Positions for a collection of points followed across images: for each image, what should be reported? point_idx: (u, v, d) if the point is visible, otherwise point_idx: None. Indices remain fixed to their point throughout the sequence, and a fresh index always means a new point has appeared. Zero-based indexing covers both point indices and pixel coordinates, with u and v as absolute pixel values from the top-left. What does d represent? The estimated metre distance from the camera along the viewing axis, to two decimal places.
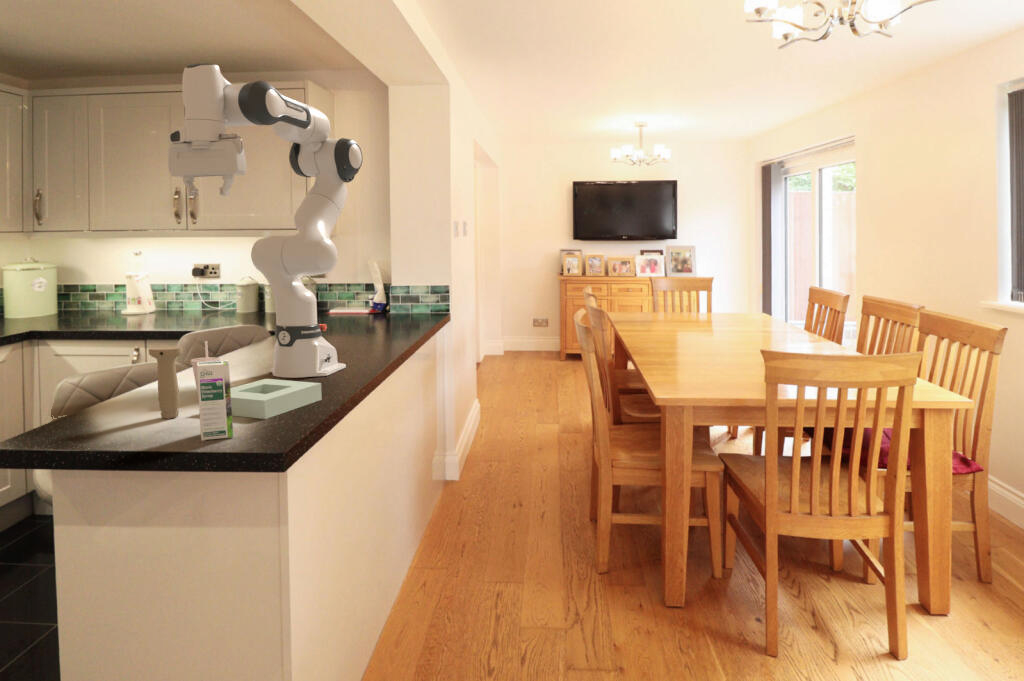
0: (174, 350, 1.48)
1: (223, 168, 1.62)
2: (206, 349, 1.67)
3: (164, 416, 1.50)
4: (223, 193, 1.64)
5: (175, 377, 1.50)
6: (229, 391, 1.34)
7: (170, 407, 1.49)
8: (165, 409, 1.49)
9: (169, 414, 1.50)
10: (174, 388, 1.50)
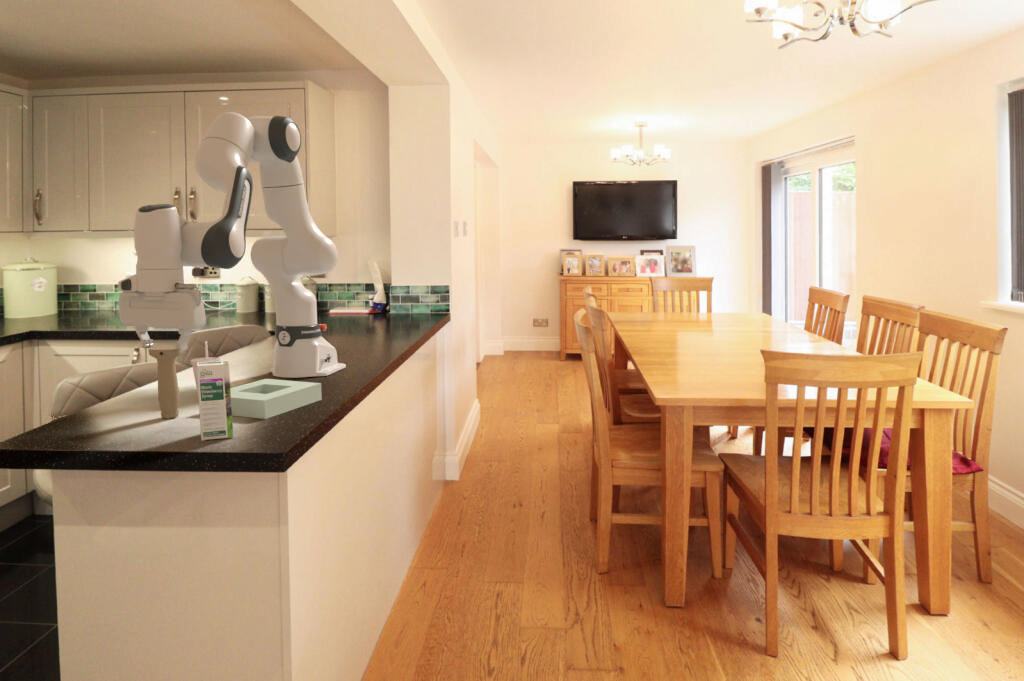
0: (174, 350, 1.48)
1: (179, 322, 1.44)
2: (206, 349, 1.67)
3: (164, 416, 1.50)
4: (179, 348, 1.46)
5: (175, 377, 1.50)
6: (229, 391, 1.34)
7: (170, 407, 1.49)
8: (165, 409, 1.49)
9: (169, 414, 1.50)
10: (174, 388, 1.50)
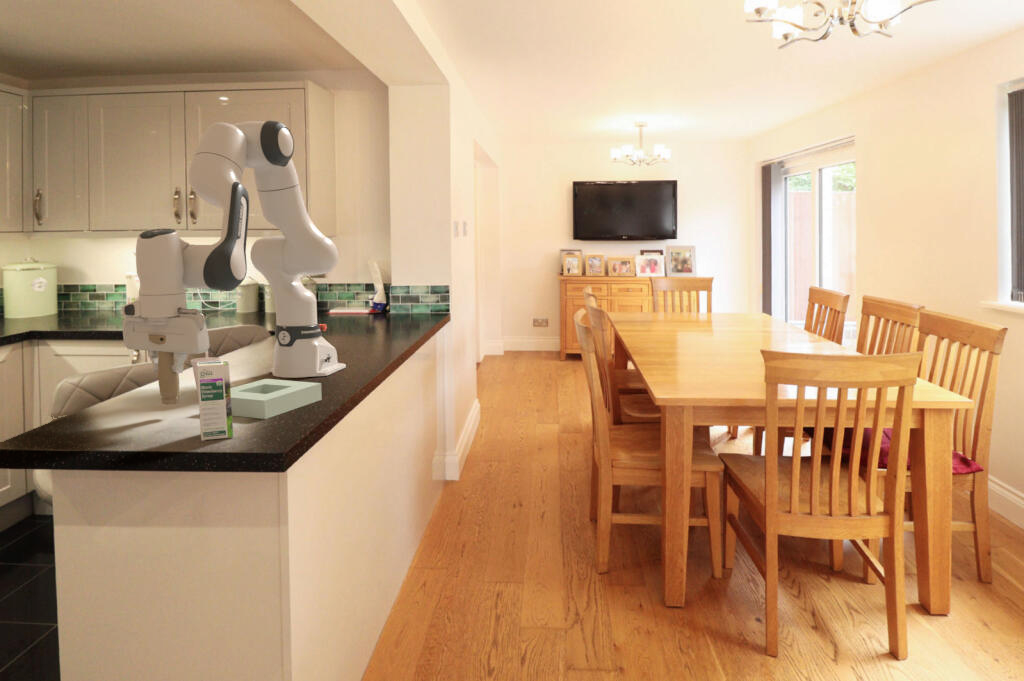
0: None
1: (183, 347, 1.46)
2: None
3: (165, 402, 1.50)
4: (175, 371, 1.49)
5: None
6: (229, 391, 1.34)
7: (171, 393, 1.49)
8: (166, 395, 1.49)
9: (170, 400, 1.50)
10: (175, 373, 1.50)
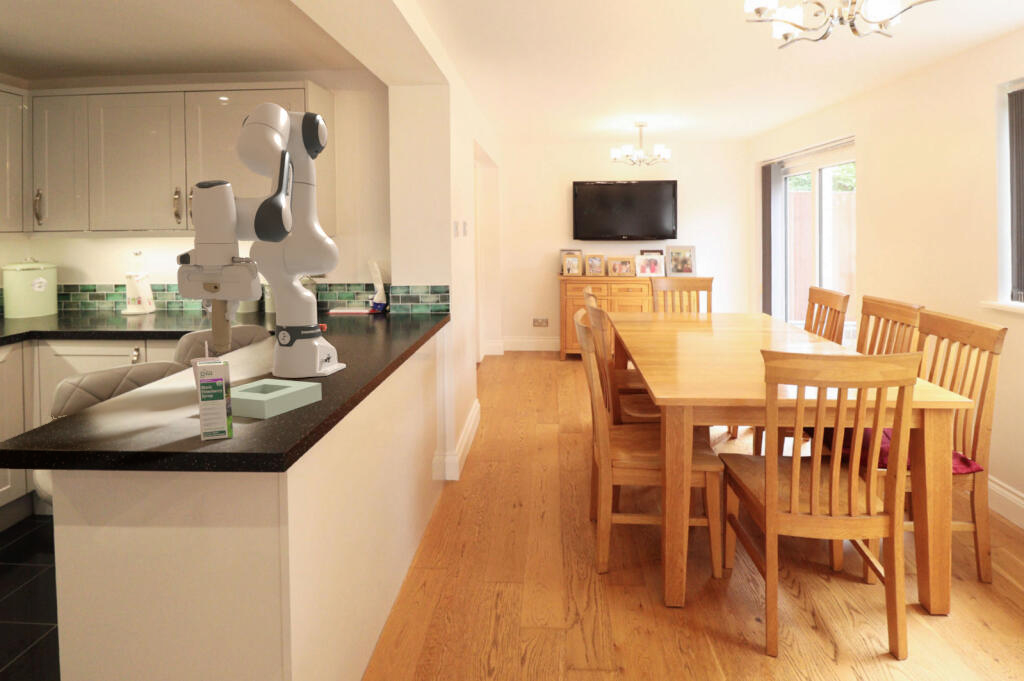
0: None
1: (237, 294, 1.50)
2: (206, 349, 1.67)
3: (218, 349, 1.55)
4: (229, 319, 1.53)
5: None
6: (229, 391, 1.34)
7: (224, 340, 1.54)
8: (219, 342, 1.54)
9: (222, 347, 1.55)
10: (228, 321, 1.54)
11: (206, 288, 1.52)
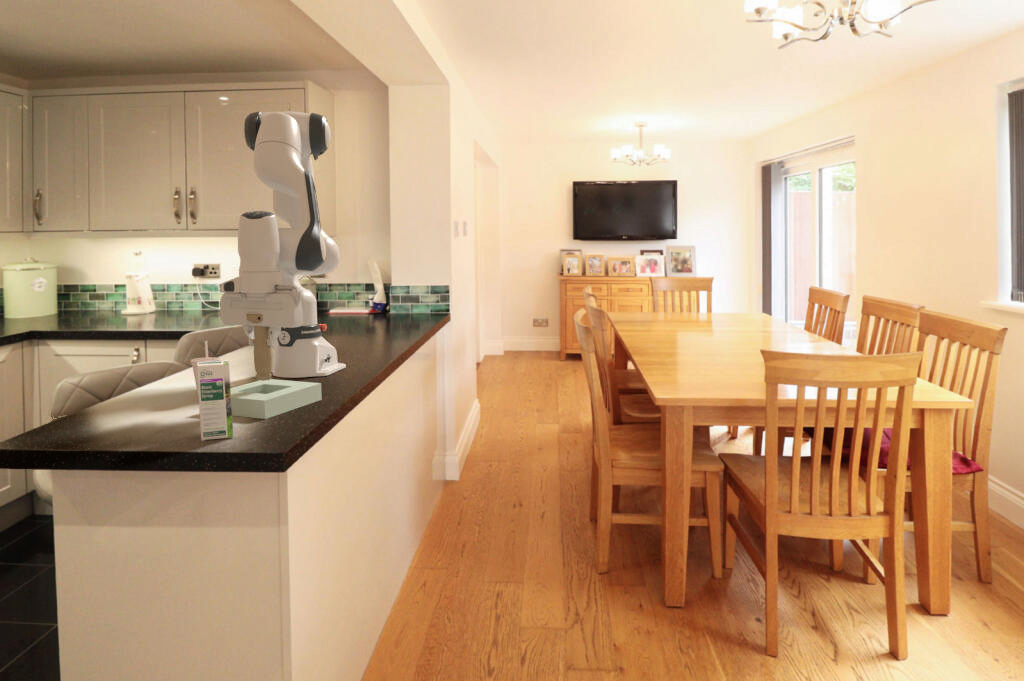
0: None
1: (279, 321, 1.55)
2: (206, 349, 1.67)
3: (259, 378, 1.59)
4: (270, 345, 1.58)
5: None
6: (229, 391, 1.34)
7: (265, 369, 1.59)
8: (261, 371, 1.59)
9: (264, 376, 1.59)
10: (270, 351, 1.59)
11: (250, 319, 1.57)
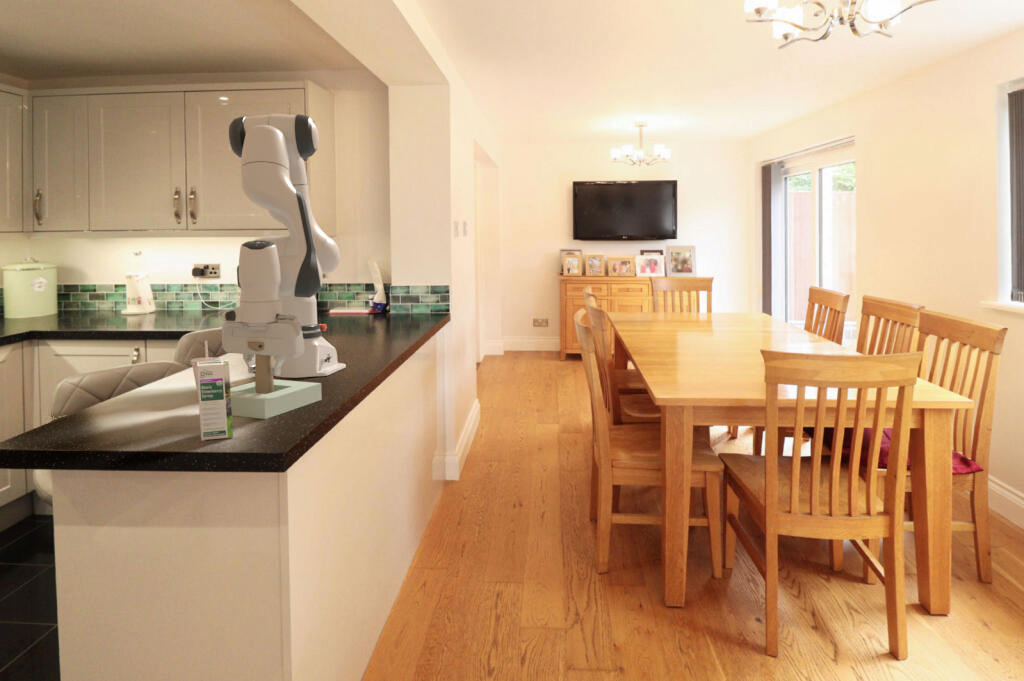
0: None
1: (281, 350, 1.56)
2: (206, 349, 1.67)
3: None
4: (274, 374, 1.59)
5: None
6: (229, 391, 1.34)
7: None
8: None
9: None
10: (271, 378, 1.60)
11: (251, 347, 1.58)
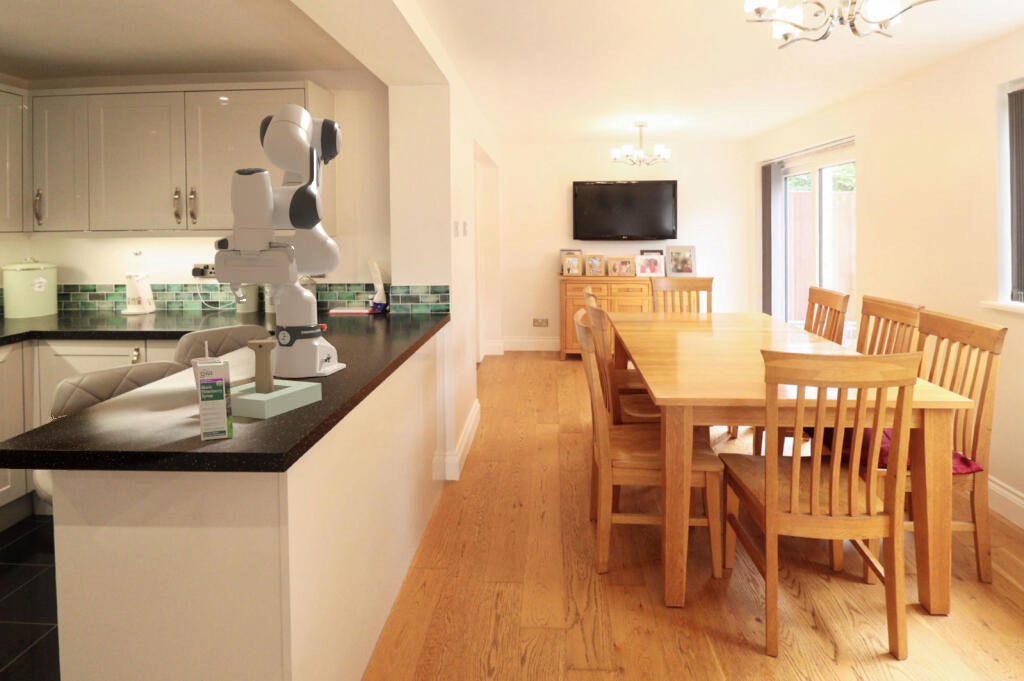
0: (271, 343, 1.58)
1: (274, 278, 1.55)
2: (206, 349, 1.67)
3: None
4: (273, 303, 1.57)
5: (271, 368, 1.61)
6: (229, 391, 1.34)
7: None
8: None
9: None
10: (271, 378, 1.60)
11: (251, 347, 1.58)
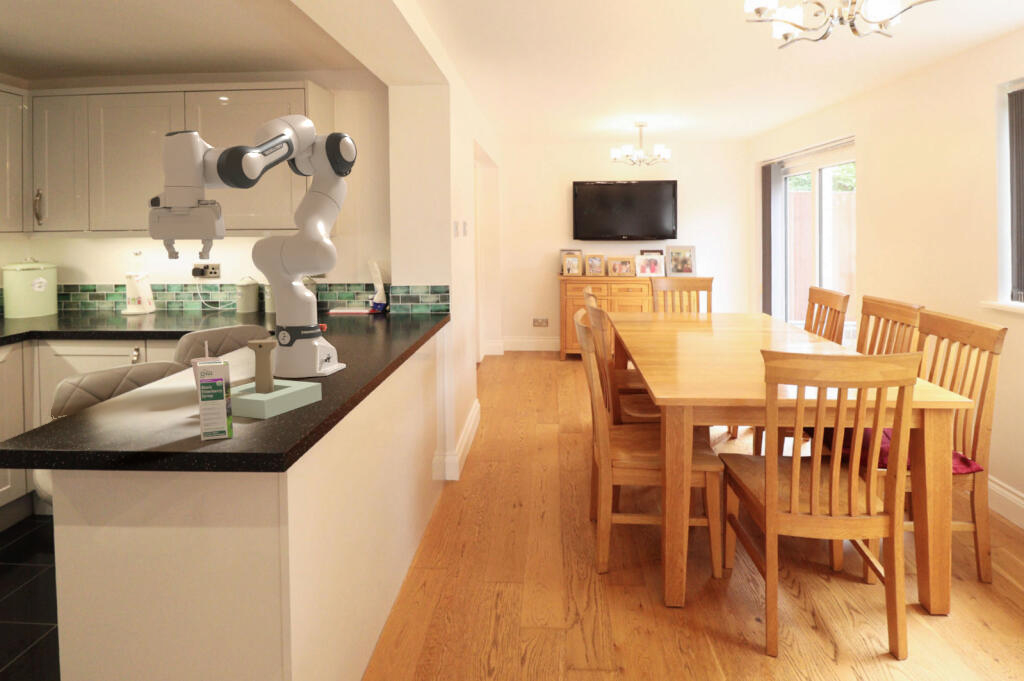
0: (271, 343, 1.58)
1: (202, 233, 1.65)
2: (206, 349, 1.67)
3: None
4: (202, 257, 1.67)
5: (271, 368, 1.61)
6: (229, 391, 1.34)
7: None
8: None
9: None
10: (271, 378, 1.60)
11: (251, 347, 1.58)
